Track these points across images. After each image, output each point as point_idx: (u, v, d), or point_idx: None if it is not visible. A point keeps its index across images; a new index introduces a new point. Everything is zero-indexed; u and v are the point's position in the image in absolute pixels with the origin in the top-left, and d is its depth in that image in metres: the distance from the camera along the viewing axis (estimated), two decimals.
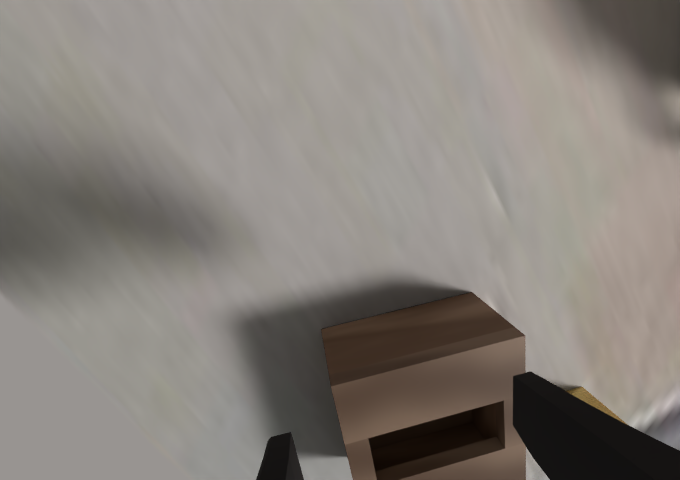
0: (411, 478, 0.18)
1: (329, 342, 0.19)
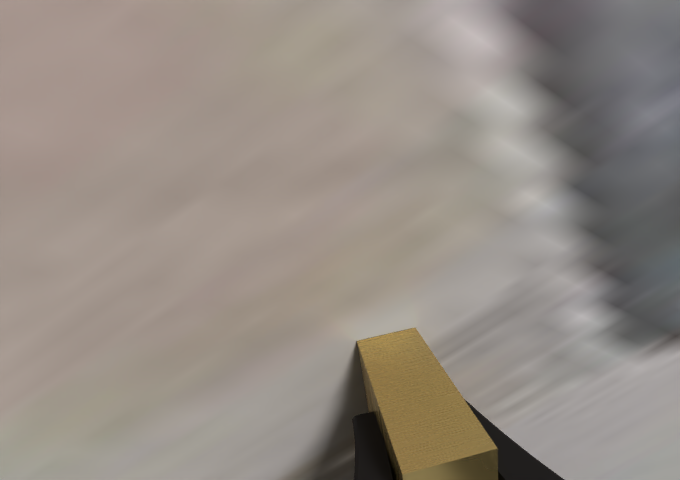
0: None
1: None
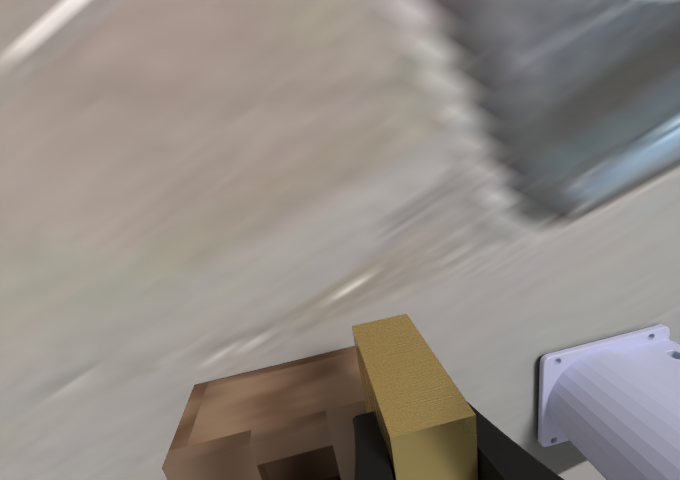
0: None
1: None
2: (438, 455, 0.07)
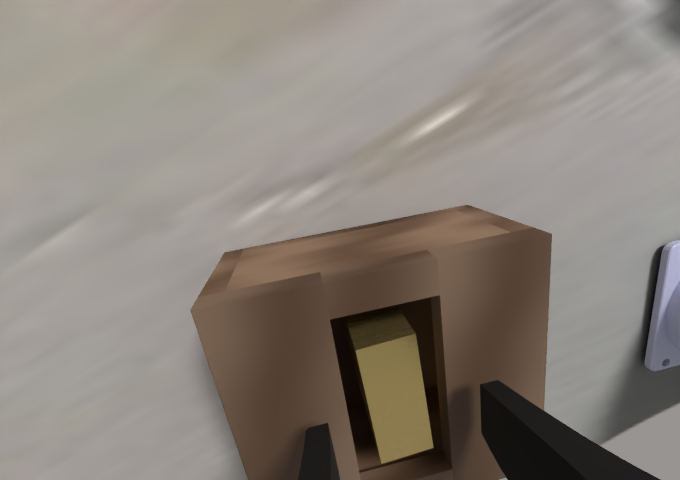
0: (454, 430, 0.12)
1: None
2: (392, 364, 0.11)
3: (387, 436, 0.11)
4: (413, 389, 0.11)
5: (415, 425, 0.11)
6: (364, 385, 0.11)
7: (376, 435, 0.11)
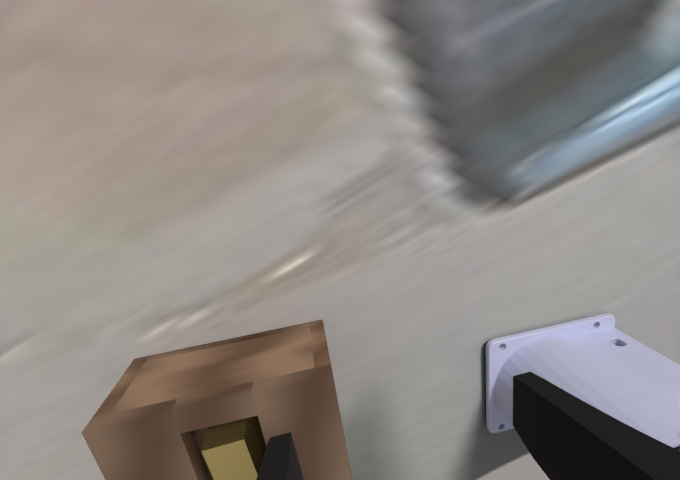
0: None
1: None
2: (229, 459, 0.15)
3: None
4: (248, 473, 0.16)
5: None
6: (211, 472, 0.16)
7: None
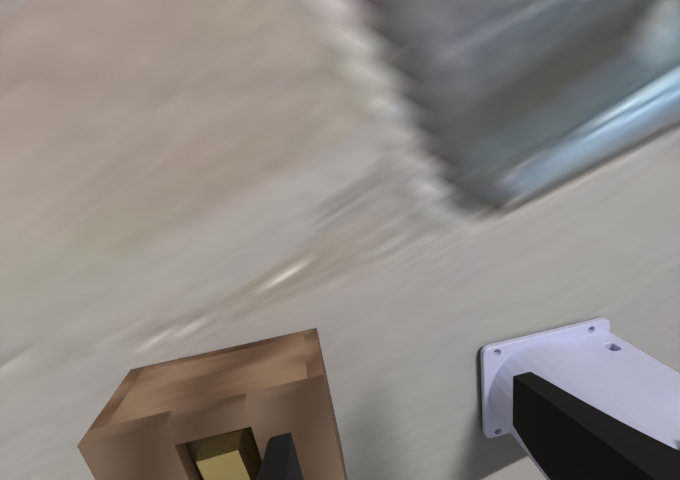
0: None
1: None
2: (224, 469, 0.16)
3: None
4: None
5: None
6: None
7: None
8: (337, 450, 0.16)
